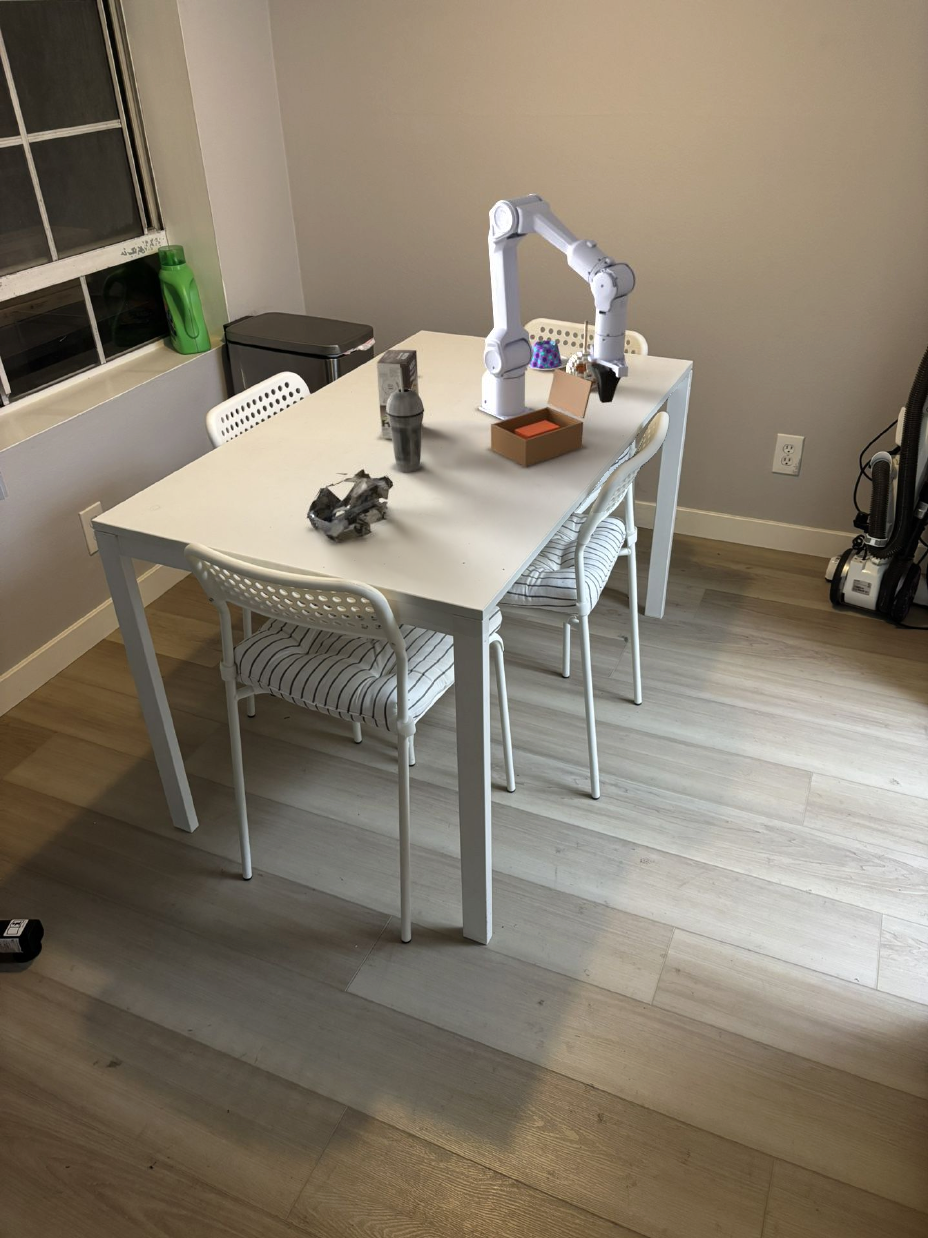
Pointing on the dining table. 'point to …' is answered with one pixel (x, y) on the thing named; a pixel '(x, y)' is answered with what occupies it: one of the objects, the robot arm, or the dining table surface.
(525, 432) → the block
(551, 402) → the flap
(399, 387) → the coffee box
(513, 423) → the box
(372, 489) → the foil
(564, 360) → the pudding
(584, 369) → the decorative ornament
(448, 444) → the dining table surface
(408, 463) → the beverage cup
